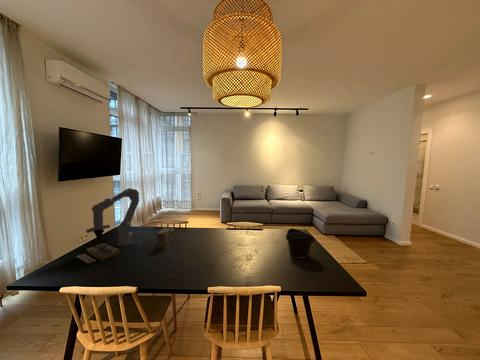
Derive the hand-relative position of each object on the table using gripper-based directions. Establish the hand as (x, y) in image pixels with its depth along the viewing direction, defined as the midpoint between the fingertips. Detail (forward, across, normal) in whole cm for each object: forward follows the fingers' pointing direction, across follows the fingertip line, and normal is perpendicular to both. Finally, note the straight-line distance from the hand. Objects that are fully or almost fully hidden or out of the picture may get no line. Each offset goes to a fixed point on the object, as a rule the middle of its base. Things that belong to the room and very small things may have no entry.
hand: (98, 239), depth 153 cm
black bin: (+9, +80, -121) cm, 145 cm away
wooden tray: (+8, 0, -6) cm, 10 cm away
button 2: (+6, 0, -6) cm, 8 cm away
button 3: (+6, 0, -12) cm, 14 cm away
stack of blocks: (+9, +38, -26) cm, 47 cm away
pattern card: (+8, -10, -6) cm, 15 cm away
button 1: (+8, 0, +1) cm, 8 cm away
